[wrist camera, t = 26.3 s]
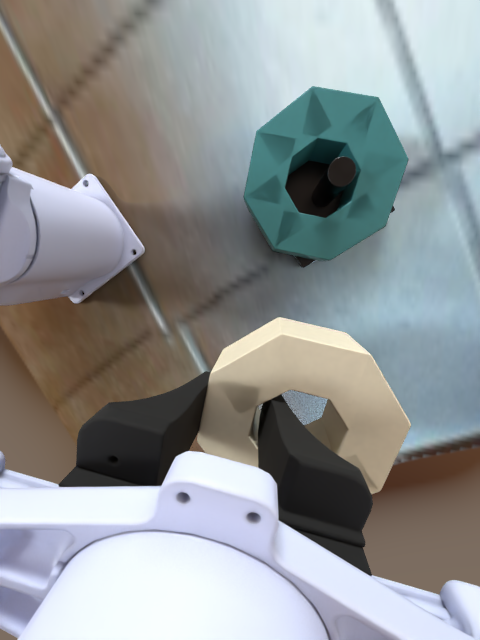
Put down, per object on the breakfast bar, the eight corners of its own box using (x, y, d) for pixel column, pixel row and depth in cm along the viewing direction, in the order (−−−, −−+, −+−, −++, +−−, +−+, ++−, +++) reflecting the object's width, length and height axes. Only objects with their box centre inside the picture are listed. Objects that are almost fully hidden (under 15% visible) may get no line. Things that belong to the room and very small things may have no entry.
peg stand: (301, 267, 21) (314, 269, 15) (252, 186, 20) (246, 154, 14) (389, 212, 19) (442, 190, 13) (341, 119, 18) (375, 51, 12)
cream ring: (265, 479, 17) (264, 533, 13) (187, 370, 15) (165, 399, 12) (399, 423, 14) (438, 471, 11) (322, 290, 13) (340, 299, 10)
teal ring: (290, 279, 20) (294, 282, 17) (228, 177, 19) (220, 159, 16) (399, 211, 18) (429, 199, 15) (339, 91, 17) (356, 50, 14)
